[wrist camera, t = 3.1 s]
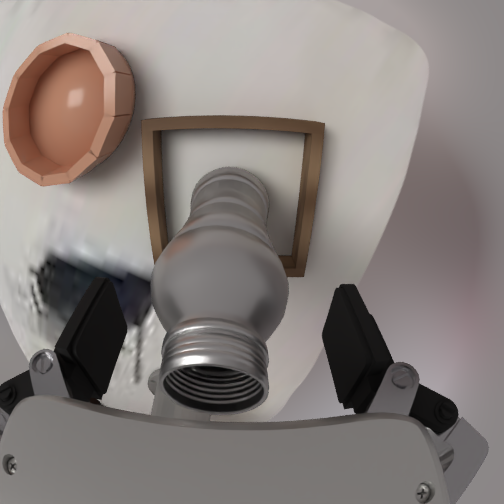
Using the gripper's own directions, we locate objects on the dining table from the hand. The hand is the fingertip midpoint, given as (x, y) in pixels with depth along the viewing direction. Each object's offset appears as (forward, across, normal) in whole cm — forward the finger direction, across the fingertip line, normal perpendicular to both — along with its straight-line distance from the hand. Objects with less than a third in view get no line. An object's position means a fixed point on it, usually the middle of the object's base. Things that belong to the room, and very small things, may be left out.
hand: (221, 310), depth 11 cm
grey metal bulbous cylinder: (+17, 0, +1) cm, 17 cm away
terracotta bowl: (+16, +16, -9) cm, 25 cm away
